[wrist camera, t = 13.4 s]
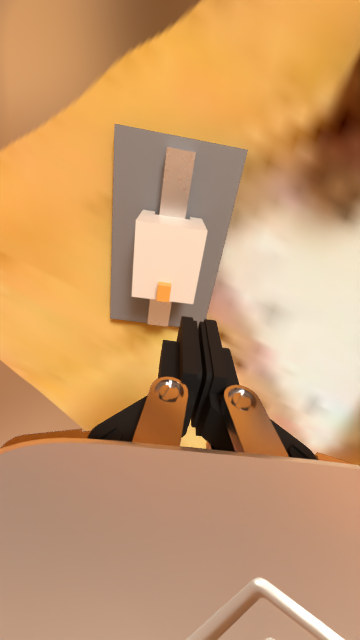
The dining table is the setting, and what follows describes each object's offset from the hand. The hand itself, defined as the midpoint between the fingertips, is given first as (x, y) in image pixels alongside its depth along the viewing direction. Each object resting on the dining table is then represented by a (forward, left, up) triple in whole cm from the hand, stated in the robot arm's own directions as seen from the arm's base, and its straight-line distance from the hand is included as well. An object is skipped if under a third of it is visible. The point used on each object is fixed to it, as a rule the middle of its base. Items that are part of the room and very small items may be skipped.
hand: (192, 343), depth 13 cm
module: (+2, +1, -18) cm, 18 cm away
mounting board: (+2, +1, -19) cm, 19 cm away
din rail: (+2, +1, -18) cm, 18 cm away
